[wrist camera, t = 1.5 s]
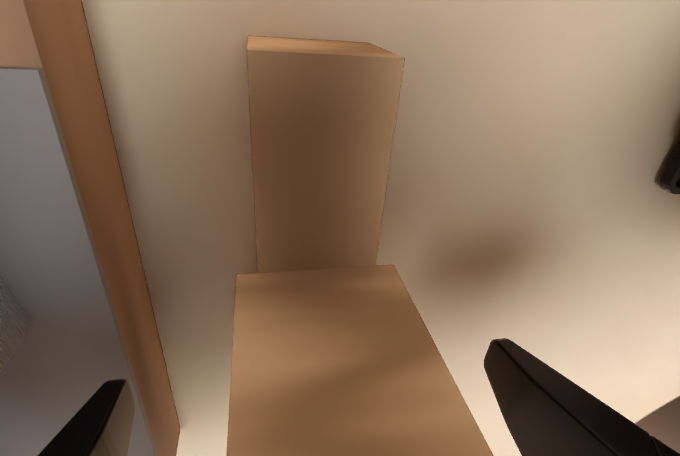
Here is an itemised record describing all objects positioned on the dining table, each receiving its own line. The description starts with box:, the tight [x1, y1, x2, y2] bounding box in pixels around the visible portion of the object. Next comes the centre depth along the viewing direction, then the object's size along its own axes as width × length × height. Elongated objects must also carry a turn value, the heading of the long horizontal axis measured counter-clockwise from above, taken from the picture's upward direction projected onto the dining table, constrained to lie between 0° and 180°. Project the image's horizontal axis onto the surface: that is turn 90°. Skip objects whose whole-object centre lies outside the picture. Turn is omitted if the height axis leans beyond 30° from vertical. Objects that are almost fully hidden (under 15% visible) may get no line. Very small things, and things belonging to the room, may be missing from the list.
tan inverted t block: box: [227, 36, 493, 456], centre depth 10 cm, size 4×14×9 cm, turn 176°
